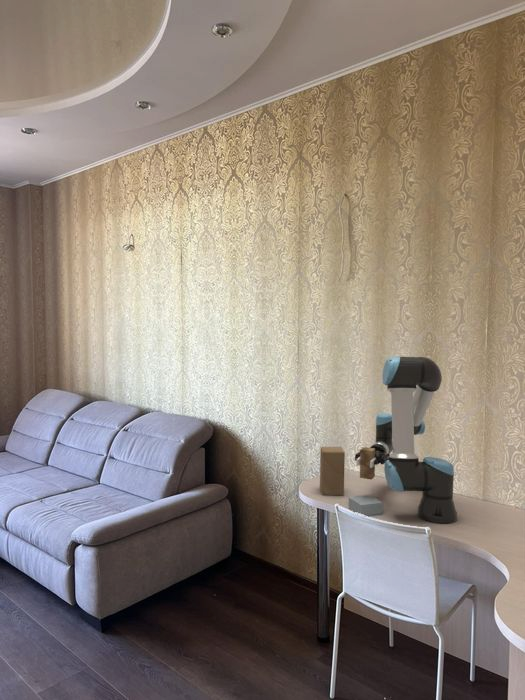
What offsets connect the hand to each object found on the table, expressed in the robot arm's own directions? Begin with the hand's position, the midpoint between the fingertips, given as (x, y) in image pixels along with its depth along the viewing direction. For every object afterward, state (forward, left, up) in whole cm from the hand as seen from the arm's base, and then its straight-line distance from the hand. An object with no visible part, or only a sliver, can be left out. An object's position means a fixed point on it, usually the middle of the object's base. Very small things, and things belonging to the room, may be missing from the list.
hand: (364, 463), depth 209 cm
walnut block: (+3, -4, -7) cm, 9 cm away
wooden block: (+26, -3, -20) cm, 33 cm away
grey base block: (0, -1, -20) cm, 20 cm away
